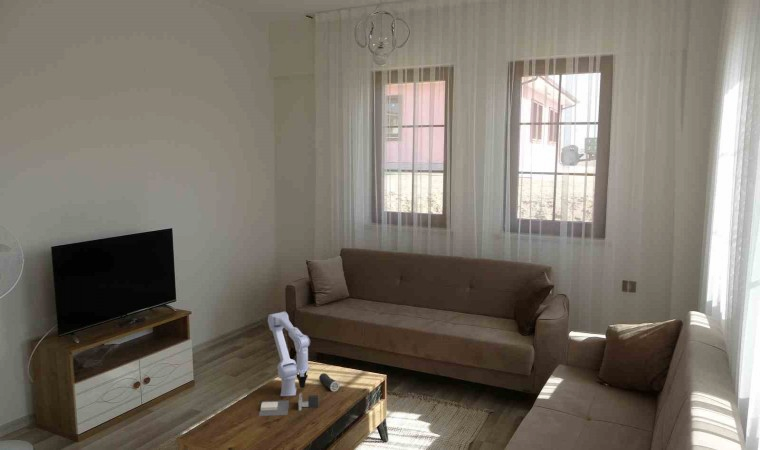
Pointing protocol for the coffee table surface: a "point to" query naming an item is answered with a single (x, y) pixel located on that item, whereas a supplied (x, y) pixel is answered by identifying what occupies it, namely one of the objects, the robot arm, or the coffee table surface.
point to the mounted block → (310, 403)
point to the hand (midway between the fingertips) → (302, 384)
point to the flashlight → (329, 382)
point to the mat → (280, 410)
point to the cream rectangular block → (269, 406)
